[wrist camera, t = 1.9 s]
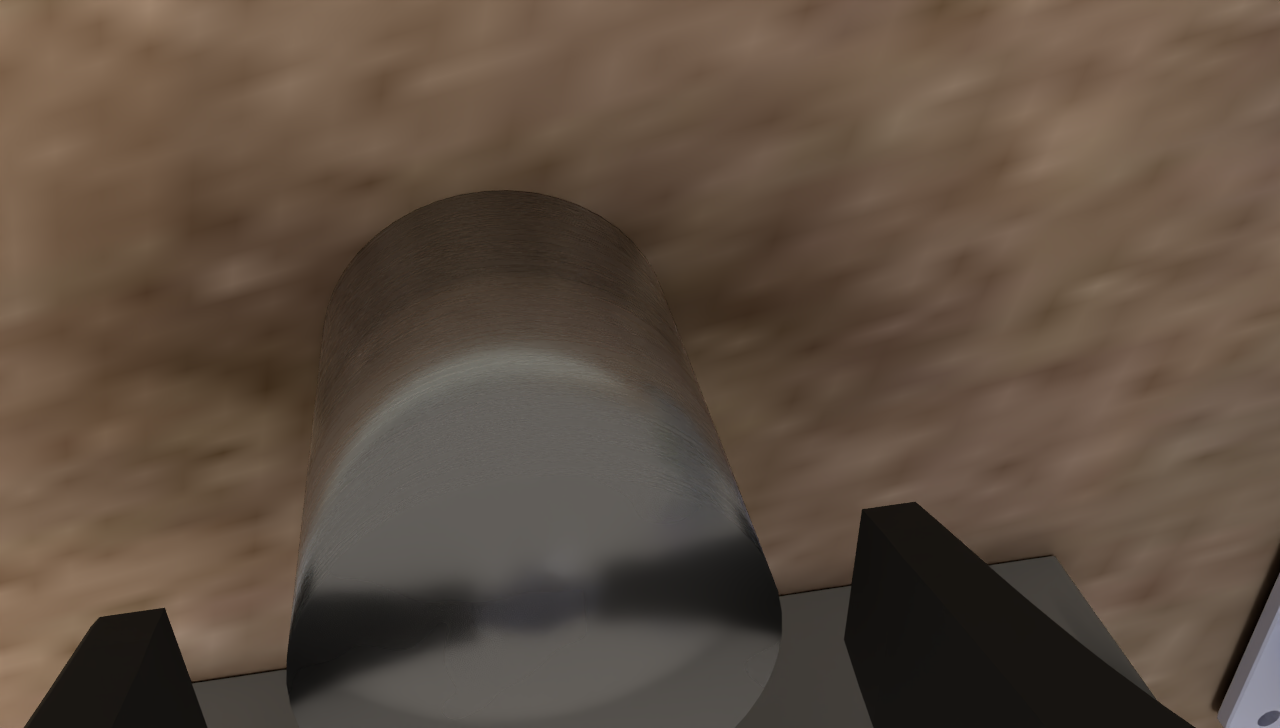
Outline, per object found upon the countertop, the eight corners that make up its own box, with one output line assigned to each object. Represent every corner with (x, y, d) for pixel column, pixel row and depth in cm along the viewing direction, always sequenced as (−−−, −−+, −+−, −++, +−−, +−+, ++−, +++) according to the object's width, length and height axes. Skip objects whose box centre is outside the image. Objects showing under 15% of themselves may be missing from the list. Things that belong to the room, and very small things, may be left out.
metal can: (669, 175, 15) (797, 445, 10) (669, 460, 18) (769, 780, 13) (291, 208, 14) (234, 514, 9) (353, 499, 17) (334, 851, 12)
